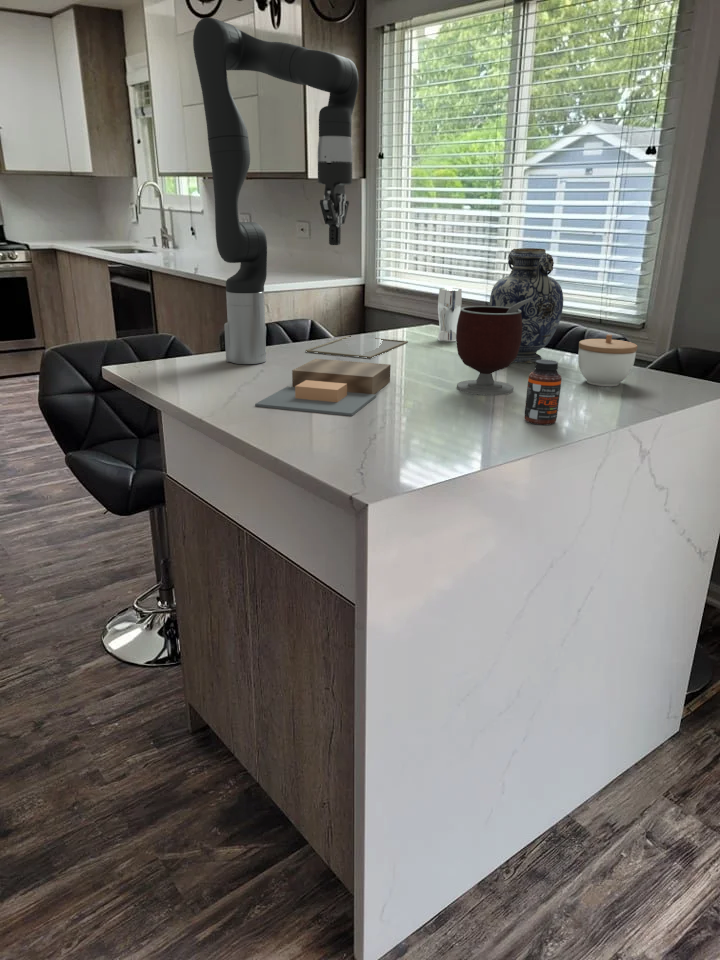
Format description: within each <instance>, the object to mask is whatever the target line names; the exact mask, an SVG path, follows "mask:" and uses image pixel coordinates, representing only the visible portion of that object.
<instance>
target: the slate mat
mask: <svg viewBox="0 0 720 960" xmlns="http://www.w3.org/2000/svg"><path fill="white" fill-rule="evenodd" d="M376 398H377V393H375V394H365V393H354V392H347V396H346V397H344V398H343V399H341V400H340V401H339V402H329V401H319V400H308V399H298V398H295V387H292V386H288V385H287V386H286V387H283V388H281V389H279V390H278V391H277V392H274V393H272V394H271V395H268V396H267V397H264V398H263V399H261V400H260V401H257V402H255V404H254V407H260V408H269V409H270V408H271V409H280V410H287V411H289V410H290V411H299V412H308V413H318V414H319V413H320V414H328V415H329V414H332V415H340V416H349V417H353V416H354V415H355V414H356V413H358V412H359V411H361V410H362V409H363V408H364V407H365V406H367V405H368V404H369V403H370V402H372V401H373V400H374V399H376Z"/></svg>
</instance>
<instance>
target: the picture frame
mask: <svg viewBox="0 0 720 960" xmlns="http://www.w3.org/2000/svg"><path fill="white" fill-rule="evenodd" d="M351 336H352V335H346V336H344V337H341V338H338V339H334V340H332V341H329V342H326V343H323V344H320V345H318V346H317V345H316V346H314V347H311V348H307V349H305V352H306V351H307V352H318V353H324V354H323V355H326V354H331V355H330V356H336V355H344V356H343V357H346V356H359V357H367V358H372V357H374V356H377V355H379V356H381V355H383V354H385V352H386V353H388V352H391V351H392V349H393V350H395V349H397V348H400V347H401V346H404V345H407V344H409V341H408V340H397V339H391V338H389V339H388V338H377V337H376V338H375V337H374V338H375V339H381V340H383V341H382V344H381V343H380V344H381V345H380V346H379V348H376V349H375V350H372V351H369V352H365V354H363V355H361V354H356V352H354V351H351V350H349V349H348V348H350V347H348V344H346V343H349V342H345V341H350V340H342V339H349V338H346V337H351ZM387 351H388V352H387ZM382 353H383V354H382ZM380 354H381V355H380ZM377 357H378V356H377ZM374 358H375V357H374ZM372 359H373V358H372Z"/></svg>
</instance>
